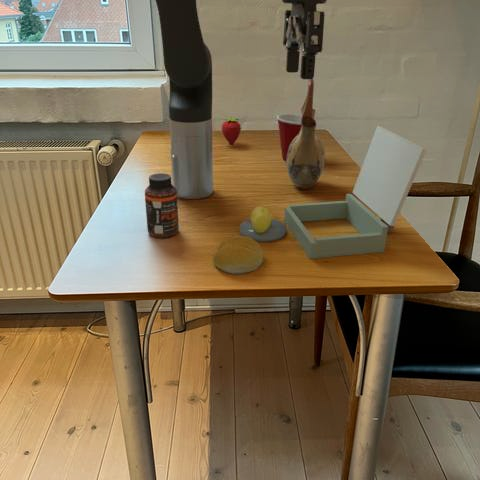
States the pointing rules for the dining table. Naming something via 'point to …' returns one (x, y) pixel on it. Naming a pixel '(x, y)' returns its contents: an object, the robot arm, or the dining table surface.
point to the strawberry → (231, 130)
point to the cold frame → (365, 242)
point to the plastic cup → (288, 130)
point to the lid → (388, 173)
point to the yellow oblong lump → (261, 219)
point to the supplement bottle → (161, 206)
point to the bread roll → (238, 255)
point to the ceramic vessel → (306, 148)
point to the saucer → (271, 234)
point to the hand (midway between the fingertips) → (299, 75)
